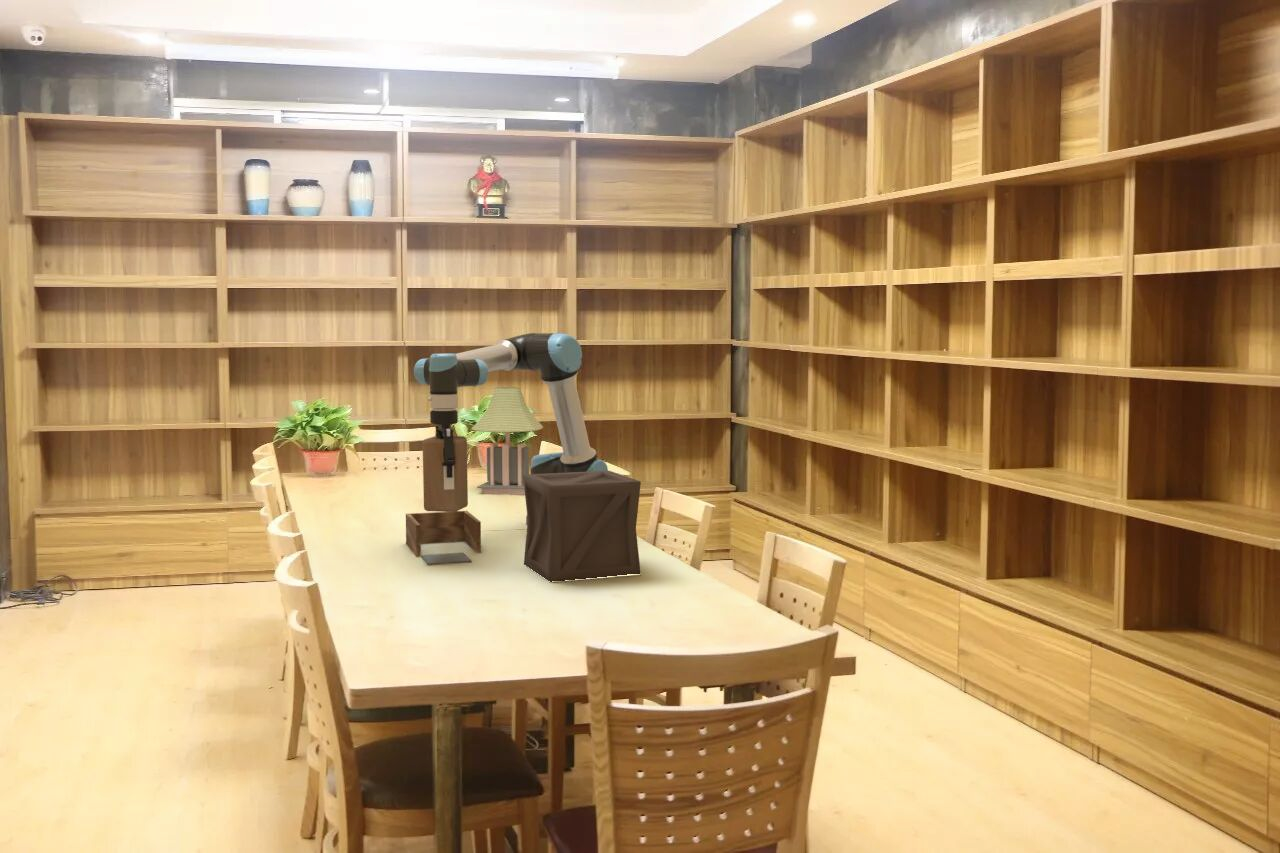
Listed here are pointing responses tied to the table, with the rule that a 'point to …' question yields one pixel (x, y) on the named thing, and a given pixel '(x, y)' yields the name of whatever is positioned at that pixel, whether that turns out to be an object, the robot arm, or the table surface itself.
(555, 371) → the robot arm
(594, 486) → the wooden crate
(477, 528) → the cubby
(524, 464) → the desk lamp
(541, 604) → the table surface
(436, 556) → the pad
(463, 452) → the block
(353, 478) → the table surface
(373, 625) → the table surface
